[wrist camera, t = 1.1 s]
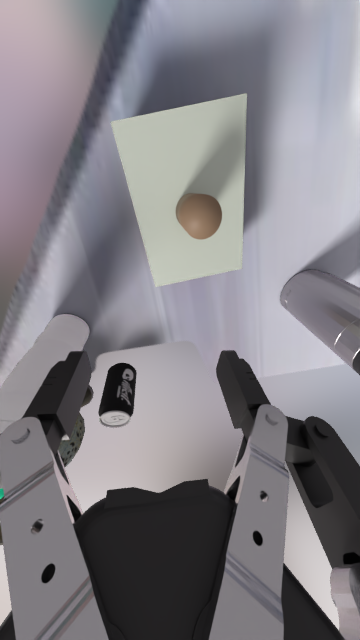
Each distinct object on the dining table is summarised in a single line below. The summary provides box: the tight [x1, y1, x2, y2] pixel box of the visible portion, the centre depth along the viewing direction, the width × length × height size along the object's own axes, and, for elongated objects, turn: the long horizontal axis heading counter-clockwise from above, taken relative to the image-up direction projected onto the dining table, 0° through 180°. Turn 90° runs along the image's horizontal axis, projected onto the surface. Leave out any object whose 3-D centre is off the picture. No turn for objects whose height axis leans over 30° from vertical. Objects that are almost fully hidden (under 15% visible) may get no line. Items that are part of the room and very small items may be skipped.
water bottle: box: [0, 314, 90, 499], centre depth 26 cm, size 7×7×25 cm
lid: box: [111, 93, 247, 287], centre depth 20 cm, size 13×17×8 cm
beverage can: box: [99, 363, 136, 428], centre depth 40 cm, size 7×7×12 cm
